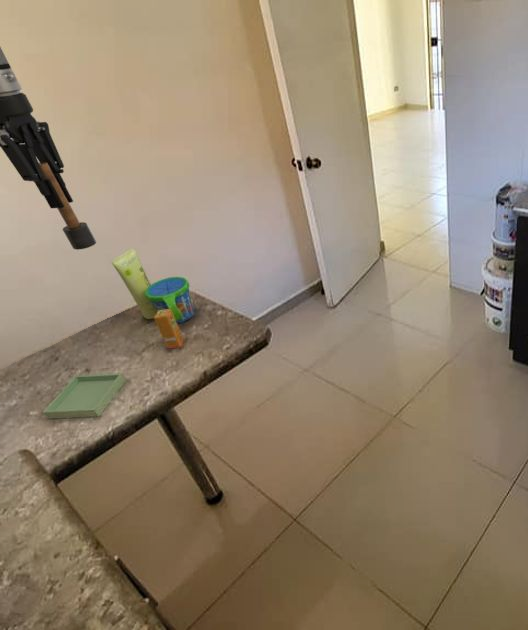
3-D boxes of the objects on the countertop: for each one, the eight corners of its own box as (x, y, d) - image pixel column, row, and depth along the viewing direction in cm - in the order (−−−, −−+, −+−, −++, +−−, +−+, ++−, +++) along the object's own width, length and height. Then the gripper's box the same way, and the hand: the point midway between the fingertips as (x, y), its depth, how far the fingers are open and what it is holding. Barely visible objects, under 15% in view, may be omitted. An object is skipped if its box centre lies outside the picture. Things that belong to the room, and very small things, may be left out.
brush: (68, 250, 106) (20, 167, 94) (81, 241, 110) (36, 161, 99) (88, 249, 106) (43, 166, 94) (100, 240, 110) (58, 159, 98)
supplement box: (182, 347, 111) (166, 315, 105) (168, 349, 110) (151, 317, 104) (185, 339, 113) (170, 308, 107) (171, 341, 113) (156, 309, 107)
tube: (163, 317, 122) (133, 256, 110) (143, 323, 120) (110, 261, 109) (163, 307, 126) (134, 247, 115) (144, 312, 124) (112, 252, 113)
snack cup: (161, 307, 126) (146, 277, 120) (200, 298, 129) (187, 268, 123) (158, 337, 114) (142, 306, 108) (201, 326, 117) (187, 295, 111)
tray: (47, 418, 93) (42, 412, 92) (80, 381, 102) (75, 375, 101) (99, 416, 93) (94, 409, 91) (126, 379, 102) (122, 373, 101)
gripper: (-11, 100, 82) (56, 217, 96) (45, 87, 95) (97, 192, 108) (-50, 102, 82) (22, 219, 96) (11, 89, 95) (67, 193, 108)
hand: (62, 204), depth 102 cm, fingers closed on brush, 3 cm apart
